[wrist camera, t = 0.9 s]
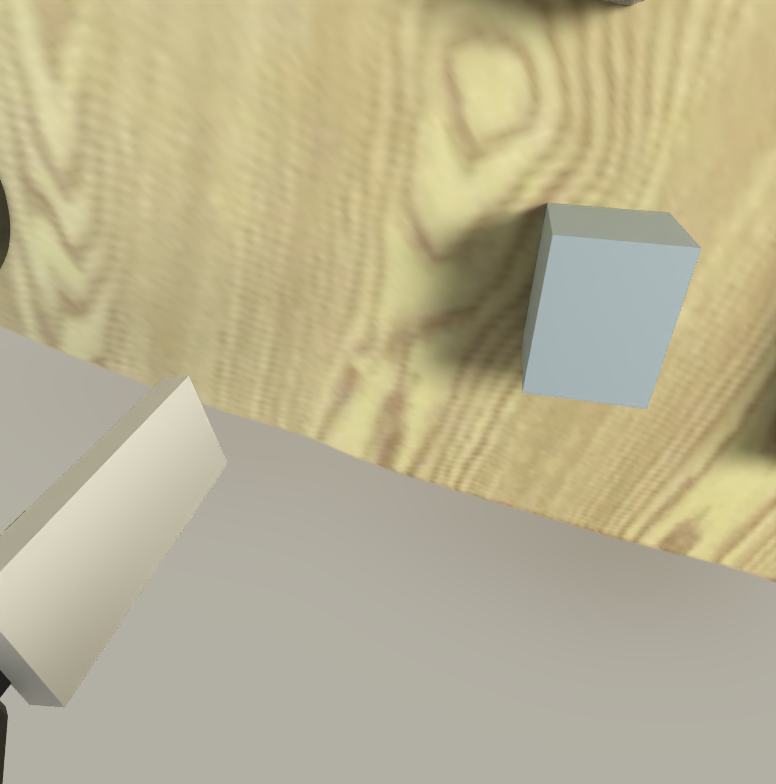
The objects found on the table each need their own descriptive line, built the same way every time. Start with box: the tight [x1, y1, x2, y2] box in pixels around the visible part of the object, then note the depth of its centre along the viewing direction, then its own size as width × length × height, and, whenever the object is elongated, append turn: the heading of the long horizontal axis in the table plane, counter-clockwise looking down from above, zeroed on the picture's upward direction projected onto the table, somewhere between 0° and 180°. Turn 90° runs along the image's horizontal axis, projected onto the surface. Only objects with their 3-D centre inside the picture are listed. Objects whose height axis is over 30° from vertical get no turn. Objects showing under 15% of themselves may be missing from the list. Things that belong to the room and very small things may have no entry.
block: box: [522, 203, 701, 409], centre depth 28 cm, size 6×8×6 cm
